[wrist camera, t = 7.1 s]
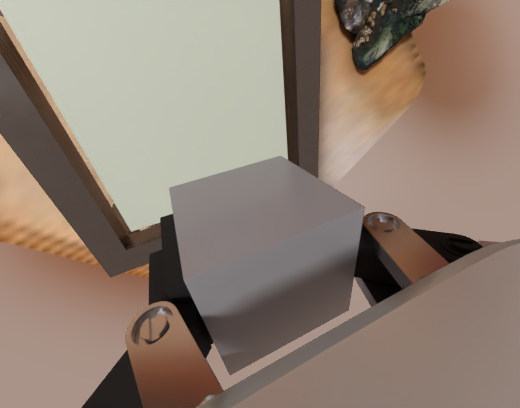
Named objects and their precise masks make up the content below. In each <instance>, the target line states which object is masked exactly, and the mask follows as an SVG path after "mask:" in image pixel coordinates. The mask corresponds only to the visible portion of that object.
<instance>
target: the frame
mask: <svg viewBox="0 0 520 408" xmlns="http://www.w3.org/2000/svg"><path fill="white" fill-rule="evenodd" d="M279 4H280V22H281V41H282V60H283V78H284V96H285V113H286V130H287V146H288V160H289V161H290V162H292V163H294V164H295V165H297V166H299V167H300V168H302V169H304V170H305V171H307V172H308V173H310V174H312V175H313V176H315V177H317V178H318V142H319V89H320V35H321V0H279ZM0 16H3V17H4V15H3V14H2V12H1V10H0ZM0 133H1V135H2V136H3V137H4V139H5V140H6V141H7V143H8V144H9V145H10V147H11V148H12V149H13V151H14V152H15V153H16V154H17V156H18V157H19V158H20V160H21V161H22V162H23V164H24V165H25V166H26V168H27V169H28V170H29V171H30V173H31V174H32V175H33V177H34V178H35V179H36V181H37V182H38V183H39V185H40V186H41V187H42V188H43V190H44V191H45V192H46V194H47V195H48V196H49V198H50V199H51V200H52V202H53V203H54V204H55V206H56V207H57V208H58V209H59V211H60V212H61V213H62V215H63V216H64V217H65V219H66V220H67V221H68V223H69V224H70V225H71V226H72V228H73V229H74V230H75V232H76V233H77V234H78V236H79V237H80V238H81V240H82V241H83V242H84V243H85V245H86V246H87V247H88V249H89V250H90V251H91V253H92V254H93V255H94V257H95V258H96V259H97V261H98V262H99V263H100V264H101V266H102V267H103V268H104V270H105V271H106V272H107V273H108V275H109V276H110V277H113V276H116V275H118V274H121V273H124V272H126V271H129V270H132V269H135V268H137V267H140V266H143V265H145V264H148V263H149V256H150V253H153V252H156V251H158V250H161V249H162V240H161V224H160V225H157V226H154V227H151V228H148V229H145V230H142V231H140V229H138V230H135V231H132V232H131V231H130V229H129V227H128V225H127V224H126V222H125V220H124V219H123V217H122V215H121V214H120V212H119V210H118V209H117V207H116V205H115V204H113V207H111V206H110V204H109V202H108V201H107V199H106V197H105V196H104V194H103V192H102V191H101V189H100V187H99V186H98V184H97V182H96V181H95V179H94V177H93V176H92V174H91V172H90V171H89V169H88V167H87V166H86V164H85V162H84V161H83V159H82V157H81V156H80V154H79V152H78V151H77V149H76V147H75V146H74V144H73V142H72V141H71V139H70V137H69V136H68V134H67V132H66V131H65V129H64V127H63V126H62V124H61V122H60V121H59V119H58V117H57V116H56V114H55V112H54V111H53V109H52V107H51V106H50V104H49V102H48V101H47V99H46V97H45V96H44V94H43V92H42V91H41V89H40V87H39V86H38V84H37V82H36V81H35V79H34V77H33V76H32V74H31V72H30V71H29V69H28V67H27V66H26V64H25V62H24V61H23V59H22V57H21V56H20V54H19V52H18V51H17V49H16V47H15V46H14V44H13V42H12V41H11V39H10V37H9V36H8V34H7V32H6V31H5V29H4V27H3V26H2V24H1V22H0Z"/></svg>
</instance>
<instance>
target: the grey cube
mask: <svg viewBox="0 0 520 408" xmlns="http://www.w3.org/2000/svg"><path fill="white" fill-rule="evenodd" d="M169 192H170V198H171V204H172V210H173V217H174V223H175V229H176V236H177V242H178V248H179V254H180V261H181V267H182V273H183V280H184V282H185V284H186V286H187V288H188V290H189V292H190V294H191V296H192V299H193V301H194V303H195V305H196V307H197V309H198V311H199V313H200V315H201V317H202V319H203V321H204V323H205V325H206V327H207V329H208V331H209V333H210V335H211V338H212V340H213V342H214V344H215V346H216V348H217V350H218V352H219V354H220V356H221V358H222V360H223V362H224V364H225V366H226V368H227V370H228V372H229V374H230V375H232V374H233V373H235V372H237V371H238V370H241V369H242V368H244V367H246V366H248V365H250V364H252V363H253V362H255V361H257V360H259V359H261V358H262V357H264V356H266V355H268V354H270V353H272V352H273V351H275V350H277V349H279V348H281V347H282V346H284V345H286V344H287V343H290V342H292V341H293V340H295V339H297V338H298V337H301V336H303V335H304V334H306V333H308V332H310V331H312V330H313V329H315V328H317V327H319V326H321V325H322V324H324V323H326V322H328V321H330V320H331V319H333V318H335V317H337V316H339V315H341V314H342V313H344V312H346V311H348V310H349V305H350V298H351V292H352V286H353V279H354V273H355V267H356V260H357V254H358V248H359V241H360V235H361V229H362V222H363V216H364V208H365V207H364V206H362V205H361V204H359V203H357V202H356V201H354V200H353V199H351V198H349V197H348V196H346V195H344V194H343V193H341V192H339V191H338V190H336V189H334V188H333V187H331V186H330V185H328V184H326V183H325V182H323V181H321V180H320V179H318V178H317V177H315V176H313V175H312V174H310V173H308V172H307V171H305V170H304V169H302V168H300V167H299V166H297V165H295V164H294V163H292V162H290V161H289V160H287V159H286V158H284V157H282V156H277V157H274V158H270V159H267V160H263V161H260V162H256V163H253V164H249V165H246V166H243V167H239V168H236V169H232V170H229V171H225V172H222V173H218V174H215V175H211V176H208V177H204V178H201V179H197V180H194V181H190V182H187V183H183V184H180V185H176V186H173V187H170V188H169Z"/></svg>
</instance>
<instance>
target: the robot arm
mask: <svg viewBox="0 0 520 408" xmlns="http://www.w3.org/2000/svg"><path fill="white" fill-rule="evenodd" d="M160 224H161V240H162V249H161V250H158V251H156V252H153V253H150V256H149V306H147V307H145V308H144V309H143V310H141V311H140V312H139V313H138V314H137V315H136V316H135V317H134V318H133V320H132V321H131V323H130V324H129V326H128V328H127V331H126V335H125V342H126V347H127V351H126V352H125V353H124V354H123V356H122V357H121V358H120V360H119V361H118V362H117V363H116V365H115V366H114V367H113V368H112V370H111V371H110V372H109V373H108V375H107V376H106V377H105V379H104V380H103V381H102V382H101V384H100V385H99V386H98V388H97V389H96V390H95V391H94V393H93V394H92V396H90V398H89V399H88V400H87V401H86V403H85V404H84V405H83V407H82V408H520V239H518V240H511V241H506V242H489V241H478V242H476V241H474V240H472V239H470V238H468V237H466V236H462V235H458V234H451V233H443V232H435V231H427V230H419V229H411V228H410V227H409V226H407V225H406V224H405V223H404V222H403V221H402V220H401V219H399V218H398V217H396V216H394V215H392V214H389V213H384V212H372V213H369V214H367V215H365V216H364V217H363V222H362V229H361V235H360V241H359V248H358V254H357V260H356V267H355V273H354V277H355V279H356V281H357V283H358V285H359V287H360V288H361V290H362V292H363V293H364V295H365V297H366V298H367V300H368V302H369V304H370V305H371V308H369V309H367V310H366V311H364V312H362V313H360V314H358V315H357V316H355V317H353V318H351V319H349V320H348V321H346V322H344V323H342V324H341V325H339V326H337V327H335V328H333V329H332V330H330V331H328V332H326V333H325V334H323V335H321V336H319V337H318V338H316V339H314V340H312V341H310V342H309V343H307V344H305V345H303V346H302V347H300V348H298V349H297V350H295V351H293V352H291V353H290V354H288V355H286V356H284V357H283V358H281V359H279V360H277V361H275V362H274V363H272V364H270V365H268V366H267V367H265V368H263V369H261V370H260V371H258V372H256V373H255V374H253V375H251V376H249V377H247V378H246V379H244V380H242V381H240V382H239V383H237V384H235V385H233V386H232V387H230V388H228V389H227V390H225V391H223V389H222V387H221V385H220V383H219V382H218V380H217V378H216V376H215V375H214V373H213V371H212V369H211V367H210V365H209V364H208V362H207V360H206V357H207V355H208V353H209V351H210V349H211V344H213V343H214V342H213V340H212V338H211V335H210V333H209V331H208V329H207V327H206V325H205V323H204V321H203V319H202V317H201V315H200V313H199V311H198V309H197V307H196V305H195V303H194V301H193V299H192V296H191V294H190V292H189V290H188V288H187V286H186V284H185V282H184V280H183V273H182V267H181V261H180V254H179V248H178V242H177V236H176V229H175V223H174V217H173V214H170V215H167V216H164V217H161V218H160Z"/></svg>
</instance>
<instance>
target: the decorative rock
mask: <svg viewBox="0 0 520 408" xmlns="http://www.w3.org/2000/svg"><path fill="white" fill-rule="evenodd" d="M335 1H336V4H337V6H338V9H339V14H340V19H341V22H342V23H343V25H344V26H345V28H346V29H348V30H349V31H350V32H352V33H353V34H355V33H357V34H356V38H355V42H354V46H353V48H352V50H353V56H354V60H355V62H356V65H357V67H358V68H360V69H361V70H365V69H366V70H367V69H368V68H369V67H371V65H372V64H374V63H375V62H377V61H378V60H379V59H380V58H382V57H383V56H384V55H385V54H386V53H387V51H388V50H389V49H390V48H392V47H393V46H395V44H396V43H397V42H398V41H399V40H400V39H401V38H402V37H403V36H404V35H406V34H409V33H410V32H412V31H413V30H414V29H416V28H417V27H418V26H419V25H421V24H422V22H423V20H424V17H425V15H426V13H428V12H429V11H430V10H432V9H435V8H436V7H439V6H441V5H442V4H444V3H446V2H448V1H450V0H335Z"/></svg>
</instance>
